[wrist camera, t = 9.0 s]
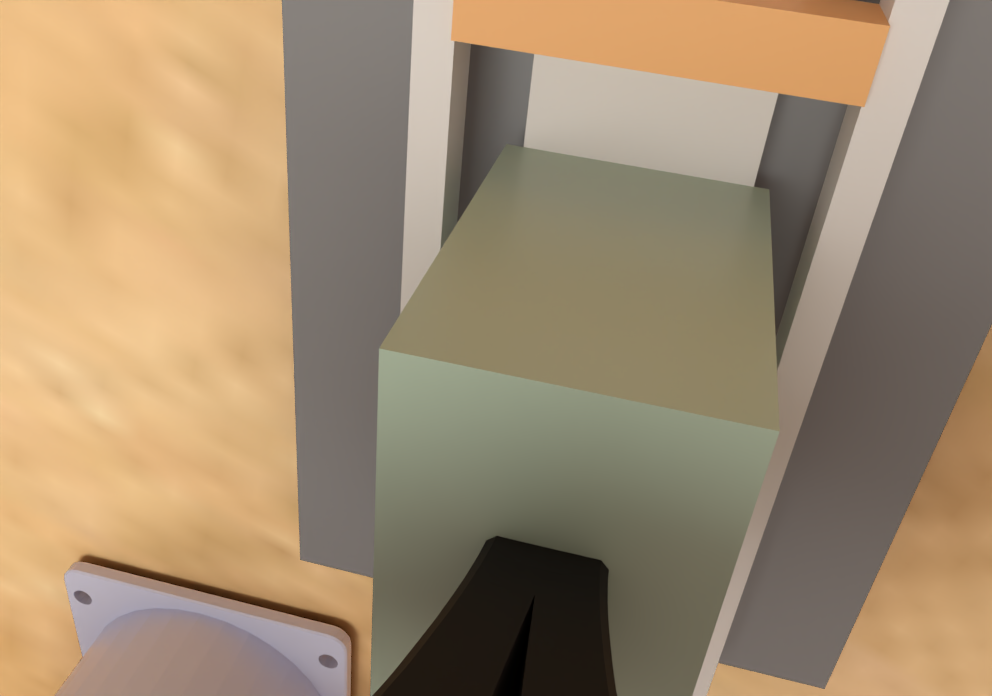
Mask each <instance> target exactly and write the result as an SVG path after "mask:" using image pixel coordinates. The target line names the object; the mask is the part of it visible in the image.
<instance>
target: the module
mask: <svg viewBox="0 0 992 696" xmlns="http://www.w3.org/2000/svg"><path fill="white" fill-rule="evenodd" d="M779 432H780V428H779V404H778V381H777V357H776V334H775V310H774V287H773V264H772V240H771V217H770V193H769V189H765V188H759V187H752V186H746V185H740V184H735V183H729V182H723V181H717V180H711V179H706V178H700V177H694V176H688V175H682V174H677V173H671V172H665V171H659V170H654V169H648V168H642V167H636V166H630V165H625V164H619V163H613V162H607V161H601V160H596V159H590V158H584V157H578V156H572V155H567V154H561V153H555V152H549V151H543V150H538V149H532V148H526V147H521V146H515V145H509V144H506V146H505V147H504V149H503V150H502V152H501V154H500V155H499V157H498V158H497V160H496V162H495V163H494V165H493V166H492V168H491V170H490V171H489V173H488V174H487V176H486V178H485V179H484V181H483V182H482V184H481V186H480V187H479V189H478V190H477V192H476V194H475V195H474V197H473V198H472V200H471V202H470V203H469V205H468V207H467V208H466V210H465V211H464V213H463V215H462V216H461V218H460V219H459V221H458V223H457V224H456V226H455V227H454V229H453V231H452V232H451V234H450V235H449V237H448V239H447V240H446V242H445V243H444V245H443V247H442V248H441V250H440V251H439V253H438V255H437V256H436V258H435V259H434V261H433V263H432V264H431V266H430V267H429V269H428V271H427V272H426V274H425V275H424V277H423V279H422V280H421V282H420V283H419V285H418V287H417V288H416V290H415V292H414V293H413V295H412V296H411V298H410V300H409V301H408V303H407V304H406V306H405V308H404V309H403V311H402V312H401V314H400V316H399V317H398V319H397V320H396V322H395V324H394V325H393V327H392V328H391V330H390V332H389V333H388V335H387V336H386V338H385V340H384V341H383V343H382V344H381V346H380V348H379V371H378V410H377V450H376V489H375V529H374V569H373V608H372V648H371V688H370V696H372V695H373V694H374V693H375V692H376V691H377V690H378V689H379V688H380V687H381V685H382V684H383V683H384V682H385V681H386V680H387V679H388V678H389V676H390V675H391V674H392V673H393V672H394V670H395V669H396V668H397V667H398V666H399V664H400V663H401V662H402V661H403V659H404V658H405V657H406V656H407V654H408V653H409V652H410V651H411V649H412V648H413V647H414V645H415V644H416V643H417V642H418V640H419V639H420V638H421V637H422V635H423V634H424V633H425V632H426V630H427V629H428V628H429V626H430V625H431V624H432V623H433V621H434V620H435V619H436V617H437V616H438V615H439V613H440V612H441V610H442V609H443V608H444V606H445V605H446V604H447V602H448V601H449V599H450V598H451V597H452V595H453V594H454V592H455V591H456V589H457V588H458V586H459V585H460V584H461V582H462V581H463V579H464V578H465V576H466V574H467V573H468V571H469V570H470V568H471V566H472V565H473V563H474V561H475V560H476V558H477V557H478V555H479V553H480V551H481V549H482V548H483V546H484V544H485V542H486V540H488V539H491V538H493V537H495V536H500V537H504V538H508V539H513V540H517V541H521V542H525V543H530V544H534V545H538V546H542V547H547V548H551V549H555V550H559V551H564V552H568V553H572V554H577V555H581V556H586V557H590V558H594V559H599V560H602V562H603V563H604V564H605V565H606V567H607V568H608V569H609V574H608V620H609V634H610V644H611V654H612V663H613V671H614V678H615V685H616V692H617V696H692V695H693V692H694V689H695V686H696V683H697V680H698V677H699V674H700V671H701V668H702V665H703V662H704V659H705V656H706V653H707V650H708V647H709V644H710V641H711V638H712V635H713V632H714V629H715V626H716V623H717V620H718V617H719V613H720V610H721V607H722V604H723V601H724V598H725V595H726V592H727V589H728V586H729V583H730V580H731V577H732V574H733V571H734V568H735V565H736V562H737V559H738V556H739V553H740V550H741V547H742V544H743V541H744V538H745V535H746V532H747V529H748V526H749V523H750V520H751V517H752V514H753V511H754V508H755V505H756V502H757V499H758V495H759V492H760V489H761V486H762V483H763V480H764V477H765V474H766V471H767V468H768V465H769V462H770V459H771V456H772V453H773V450H774V447H775V444H776V441H777V438H778V435H779Z"/></svg>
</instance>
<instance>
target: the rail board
mask: <svg viewBox="0 0 992 696" xmlns="http://www.w3.org/2000/svg"><path fill="white" fill-rule="evenodd" d="M282 16H283V47H284V77H285V108H286V138H287V169H288V199H289V230H290V260H291V291H292V321H293V352H294V382H295V413H296V443H297V474H298V504H299V535H300V560H303V561H307V562H311V563H315V564H319V565H323V566H327V567H332V568H336V569H340V570H344V571H348V572H352V573H356V574H360V575H364V576H368V577H372V578H373V569H374V529H375V489H376V450H377V410H378V371H379V348H380V346H381V344H382V343H383V341H384V340H385V338H386V336H387V335H388V333H389V332H390V330H391V328H392V327H393V325H394V324H395V322H396V320H397V319H398V317H399V316H400V314H401V312H402V311H403V309H404V308H405V306H406V304H407V303H408V301H409V300H410V298H411V296H412V295H413V293H414V292H415V290H416V288H417V287H418V285H419V283H420V282H421V280H422V279H423V277H424V275H425V274H426V272H427V271H428V269H429V267H430V266H431V264H432V263H433V261H434V259H435V258H436V256H437V255H438V253H439V251H440V250H441V248H442V247H443V245H444V243H445V242H446V240H447V239H448V237H449V235H450V234H451V232H452V231H453V229H454V227H455V226H456V224H457V223H458V221H459V219H460V218H461V216H462V215H463V213H464V211H465V210H466V208H467V207H468V205H469V203H470V202H471V200H472V198H473V197H474V195H475V194H476V192H477V190H478V189H479V187H480V186H481V184H482V182H483V181H484V179H485V178H486V176H487V174H488V173H489V171H490V170H491V168H492V166H493V165H494V163H495V162H496V160H497V158H498V157H499V155H500V154H501V152H502V150H503V149H504V147H505V146H506V144H509V145H515V146H521V147H526V148H532V149H538V150H543V151H549V152H555V153H561V154H567V155H572V156H578V157H584V158H590V159H596V160H601V161H607V162H613V163H619V164H625V165H630V166H636V167H642V168H648V169H654V170H659V171H665V172H671V173H677V174H682V175H688V176H694V177H700V178H706V179H711V180H717V181H723V182H729V183H735V184H740V185H746V186H752V187H759V188H765V189H769V193H770V217H771V240H772V264H773V287H774V310H775V334H776V357H777V381H778V404H779V428H780V432H779V435H778V438H777V441H776V444H775V447H774V450H773V453H772V456H771V459H770V462H769V465H768V468H767V471H766V474H765V477H764V480H763V483H762V486H761V489H760V492H759V495H758V499H757V502H756V505H755V508H754V511H753V514H752V517H751V520H750V523H749V526H748V529H747V532H746V535H745V538H744V541H743V544H742V547H741V550H740V553H739V556H738V559H737V562H736V565H735V568H734V571H733V574H732V577H731V580H730V583H729V586H728V589H727V592H726V595H725V598H724V601H723V604H722V607H721V610H720V613H719V617H718V620H717V623H716V626H715V629H714V632H713V635H712V638H711V641H710V644H709V647H708V650H707V653H706V656H705V659H704V662H703V665H702V668H701V671H700V674H699V677H698V680H697V683H696V686H695V689H694V692H693V695H692V696H707V693H708V690H709V687H710V684H711V682H712V679H713V676H714V673H715V670H716V667H717V664H718V663H721V664H725V665H730V666H734V667H738V668H742V669H746V670H750V671H754V672H758V673H762V674H766V675H770V676H774V677H778V678H782V679H786V680H790V681H795V682H799V683H803V684H807V685H811V686H815V687H819V688H823V689H825V687H826V685H827V682H828V680H829V678H830V676H831V674H832V671H833V669H834V667H835V665H836V663H837V661H838V658H839V656H840V654H841V652H842V650H843V648H844V645H845V643H846V641H847V639H848V637H849V634H850V632H851V630H852V628H853V626H854V624H855V621H856V619H857V617H858V615H859V613H860V610H861V608H862V606H863V604H864V602H865V600H866V597H867V595H868V593H869V591H870V589H871V586H872V584H873V582H874V580H875V578H876V576H877V573H878V571H879V569H880V567H881V565H882V563H883V560H884V558H885V556H886V554H887V552H888V549H889V547H890V545H891V543H892V541H893V539H894V536H895V534H896V532H897V530H898V528H899V525H900V523H901V521H902V519H903V517H904V515H905V512H906V510H907V508H908V506H909V504H910V501H911V499H912V497H913V495H914V493H915V491H916V488H917V486H918V484H919V482H920V480H921V477H922V475H923V473H924V471H925V469H926V467H927V464H928V462H929V460H930V458H931V456H932V454H933V451H934V449H935V447H936V445H937V443H938V440H939V438H940V436H941V434H942V432H943V430H944V427H945V425H946V423H947V421H948V419H949V416H950V414H951V412H952V410H953V408H954V406H955V403H956V401H957V399H958V397H959V395H960V392H961V390H962V388H963V386H964V384H965V382H966V379H967V377H968V375H969V373H970V371H971V369H972V366H973V364H974V362H975V360H976V358H977V355H978V353H979V351H980V349H981V347H982V345H983V342H984V340H985V338H986V336H987V334H988V331H989V329H990V327H991V325H992V0H282Z"/></svg>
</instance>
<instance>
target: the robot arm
mask: <svg viewBox="0 0 992 696" xmlns="http://www.w3.org/2000/svg"><path fill="white" fill-rule="evenodd" d="M608 574H609V569H608V568H607V567H606V565H605V564H604V563H603V562H602V560H599V559H594V558H590V557H586V556H581V555H577V554H572V553H568V552H564V551H559V550H555V549H551V548H547V547H542V546H538V545H534V544H530V543H525V542H521V541H517V540H513V539H508V538H504V537H500V536H495V537H493V538H491V539H488V540H486V542H485V544H484V546H483V548H482V549H481V551H480V553H479V555H478V557H477V558H476V560H475V561H474V563H473V565H472V566H471V568H470V570H469V571H468V573H467V574H466V576H465V578H464V579H463V581H462V582H461V584H460V585H459V586H458V588H457V589H456V591H455V592H454V594H453V595H452V597H451V598H450V599H449V601H448V602H447V604H446V605H445V606H444V608H443V609H442V610H441V612H440V613H439V615H438V616H437V617H436V619H435V620H434V621H433V623H432V624H431V625H430V626H429V628H428V629H427V630H426V632H425V633H424V634H423V635H422V637H421V638H420V639H419V640H418V642H417V643H416V644H415V645H414V647H413V648H412V649H411V651H410V652H409V653H408V654H407V656H406V657H405V658H404V659H403V661H402V662H401V663H400V664H399V666H398V667H397V668H396V669H395V670H394V672H393V673H392V674H391V675H390V676H389V678H388V679H387V680H386V681H385V682H384V683H383V684H382V685H381V687H380V688H379V689H378V690H377V691H376V692H375V693H374V694H373V695H372V696H617V692H616V685H615V678H614V671H613V663H612V654H611V644H610V634H609V620H608ZM64 580H65V585H66V589H67V593H68V597H69V602H70V606H71V610H72V614H73V619H74V623H75V627H76V631H77V636H78V640H79V644H80V648H81V653H82V657H83V658H82V659H81V660H80V662H79V663H78V664H77V666H76V667H75V668H74V670H73V671H72V672H71V674H70V675H69V677H68V678H67V679H66V681H65V682H64V683H63V685H62V686H61V687H60V689H59V690H58V691H57V693H56V694H55V696H351V640H350V637H349V636H348V635H347V633H346V632H345V631H343V630H342V629H341V628H339V627H336V626H334V625H330V624H326V623H322V622H318V621H314V620H310V619H306V618H302V617H299V616H295V615H291V614H287V613H283V612H279V611H275V610H271V609H267V608H263V607H259V606H255V605H251V604H248V603H244V602H240V601H236V600H232V599H228V598H224V597H220V596H216V595H212V594H208V593H204V592H201V591H197V590H193V589H189V588H185V587H181V586H177V585H173V584H169V583H165V582H161V581H157V580H153V579H150V578H146V577H142V576H138V575H134V574H130V573H126V572H122V571H118V570H114V569H110V568H106V567H103V566H99V565H95V564H91V563H87V562H76V563H73V565H72V566H71V567H70V568H69V569H68V571H67V572H66V573H65V574H64Z"/></svg>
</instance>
